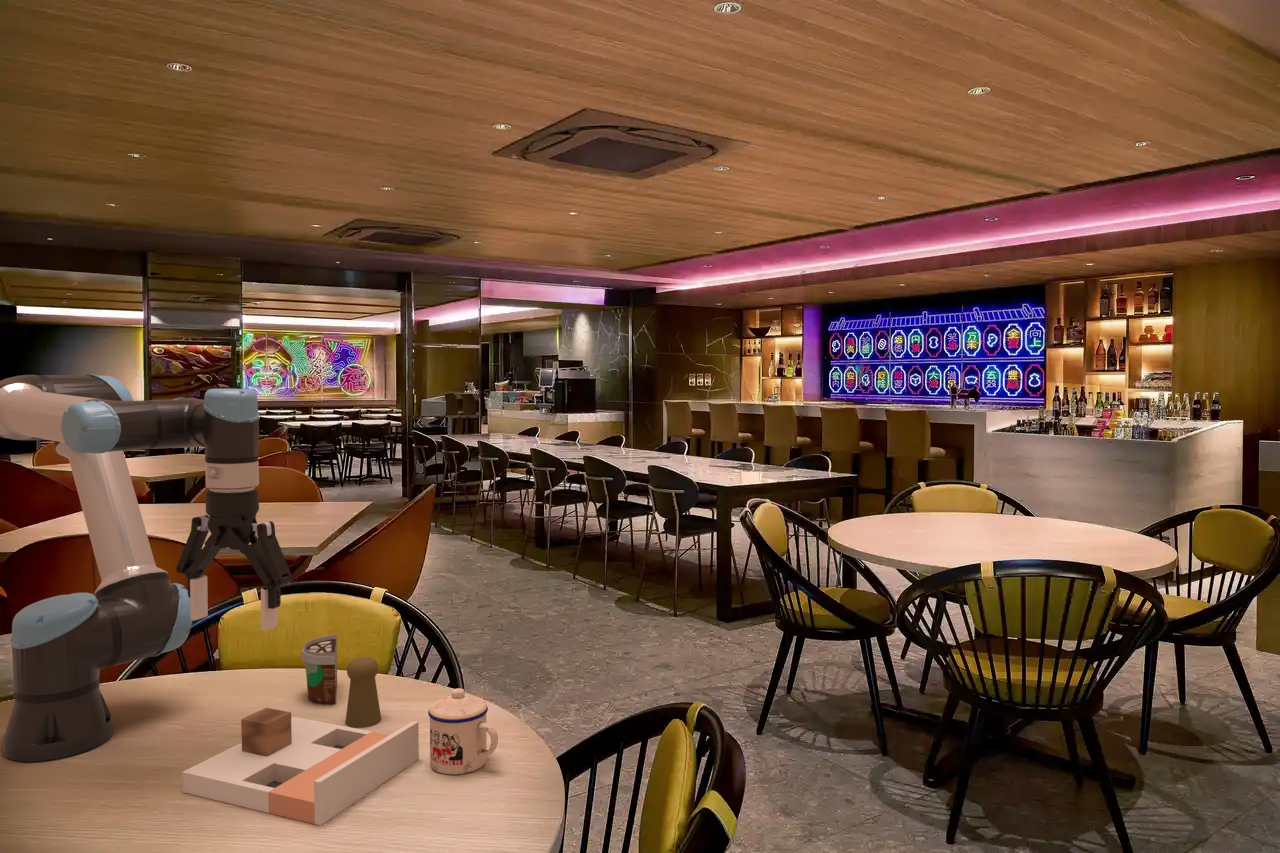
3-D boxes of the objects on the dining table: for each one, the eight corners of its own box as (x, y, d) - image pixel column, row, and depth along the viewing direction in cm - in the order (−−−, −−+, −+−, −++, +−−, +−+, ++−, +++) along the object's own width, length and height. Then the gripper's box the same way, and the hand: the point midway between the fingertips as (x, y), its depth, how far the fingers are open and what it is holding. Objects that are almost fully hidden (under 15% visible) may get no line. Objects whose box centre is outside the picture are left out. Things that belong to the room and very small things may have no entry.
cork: (370, 729, 150) (369, 666, 149) (338, 726, 151) (337, 663, 150) (387, 715, 156) (386, 654, 155) (356, 712, 157) (355, 652, 156)
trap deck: (182, 792, 127) (181, 751, 127) (294, 734, 148) (293, 699, 147) (320, 825, 118) (319, 782, 118) (418, 759, 139) (418, 721, 138)
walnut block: (241, 751, 134) (241, 719, 134) (266, 738, 139) (266, 707, 138) (267, 756, 132) (266, 724, 132) (291, 743, 137) (291, 712, 137)
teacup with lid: (416, 768, 135) (415, 694, 135) (455, 746, 143) (454, 676, 143) (477, 786, 130) (477, 708, 129) (514, 762, 138) (514, 689, 137)
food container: (303, 687, 169) (302, 636, 169) (337, 684, 171) (336, 633, 171) (299, 711, 158) (298, 656, 157) (335, 707, 160) (334, 653, 159)
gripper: (149, 486, 136) (151, 620, 138) (281, 497, 129) (282, 639, 130) (188, 480, 143) (189, 607, 145) (315, 491, 136) (316, 625, 137)
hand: (233, 623), depth 138 cm, fingers open, 13 cm apart
